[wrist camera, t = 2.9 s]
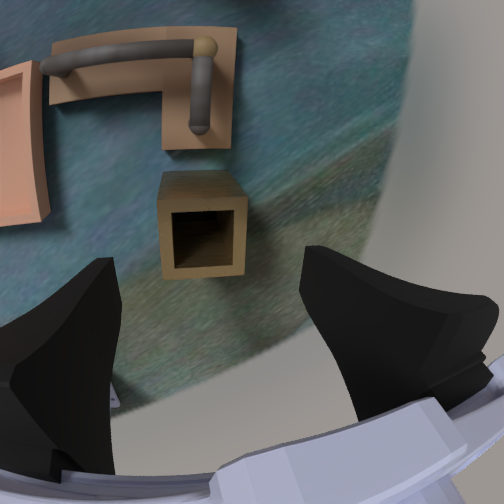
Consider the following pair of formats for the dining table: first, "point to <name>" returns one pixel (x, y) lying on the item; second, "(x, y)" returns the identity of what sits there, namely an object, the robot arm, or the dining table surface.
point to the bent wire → (155, 77)
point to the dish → (22, 146)
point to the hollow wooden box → (202, 225)
